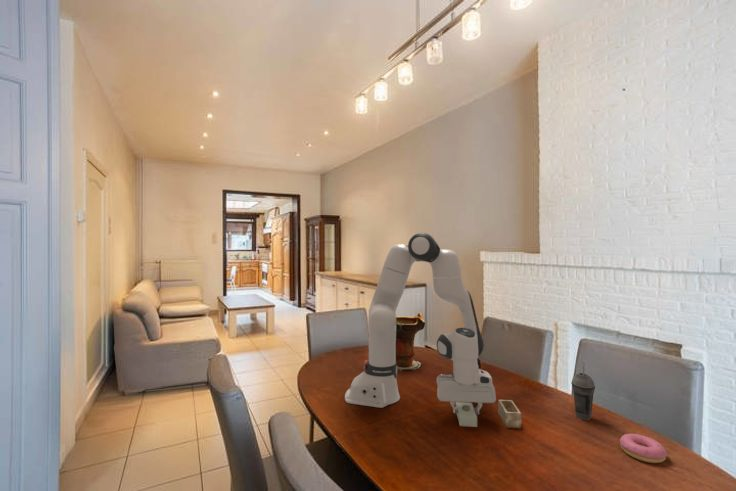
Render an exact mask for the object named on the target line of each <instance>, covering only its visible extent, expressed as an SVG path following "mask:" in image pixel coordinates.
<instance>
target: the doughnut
mask: <svg viewBox="0 0 736 491" xmlns="http://www.w3.org/2000/svg"><path fill="white" fill-rule="evenodd" d="M619 444H620V447H621V449H622V450H623V451H624V452H625V453H626V454H627V455H629V456H630V457H632V458H634V459H636V460H638V461H641V462H645V463H648V464H650V463H651V464H660V463H663V462H665V460H666V459H667V456H668V452H667V450H666V449H665V447H664V446H663V445H662V444H661V443H660V442H659V441H657V440H656V439H653V438H652V437H649V436H647V435H642V434H638V433H625V434H623V435H622V436H620V440H619Z"/></svg>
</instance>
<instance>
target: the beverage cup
mask: <svg viewBox="0 0 736 491" xmlns="http://www.w3.org/2000/svg"><path fill="white" fill-rule="evenodd" d="M585 364H586V363H585V362H582V372H581V373H579V372H578V373H576V374H575V375H574V376H572V379H571V388H572V392H573V402H574V403H573V404H574V410H575V416H576V418H578V419H580V420H582V421H591V420H590V419H592V413H593V402H594V401H593V400H594V393H595V390H596V386H595V382H594V380H593V378H592V377H591V376H590V375H589V374H586V373H585Z"/></svg>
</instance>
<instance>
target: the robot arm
mask: <svg viewBox="0 0 736 491" xmlns="http://www.w3.org/2000/svg"><path fill="white" fill-rule="evenodd" d="M415 262H426V263H428V264H429V265H430V266H431V271H432V285H433V290H434V292H435V295H437V296H438V297H439V298H440V299H441V300H443V301H446V302H449V303H452V304H453V305H456V307H458V309H459V310H460V313H461V318H462V323H463V327H458V328H455V329H454V330H453V331H452V332H447V333H442V334H440V335H439V336H438V338H437V341H436V350H437V353H438V354H439V355H440V356H441V357H442V358H443V359H445V360H449V361H452V363H453V364H452V373H451V374H450V373H447V374H446V373H441V374H439V375H438V376H437V377H436V385H437V390H436V396H437V399H438V400H439V401H440V402H449V403H450V405H451V407H452V412H453V414H455V415H457V414H458V408H457V407H456V402H462V403H477V406H475V407H473V408H474V410H475V413H476V415H477V416H478V415H480V410H481V409H482V407H483V404H495V403H496V401H497V394H496V389H495V386H494V384H493V378H492V376H491V374H490V373H489V372H488V371H486V370H483V369H482V368H480V369H478V363H477V359H479V357H480V355H481V354H482V353H483V351H484V348H485V342H484V339H483V338H484V337H483V336H482V333H481V331H480V327H479V322H478V319H477V315H476V310H475V305H474V302H473V301H474V300H473V297H472V295H471V293H470V292H469V291H468V290H466V288H465V286H464V282H463V279H462V269H461V263H460V259H459V255H458V254H457V253H456V252H455V251H454V250H452V249H444V248H443V249H442V248H440V246H439V243H438V241H437V239H436V238H435V237H434V236H433V235H430V234H429V233H426V232H418V233H415V234H414V235H413V236H411V238H409V241H408V244H402V243H398V244H397V243H396V244H393V245H392V246H391V248H390V249H389V252H387V255H386V258H385V260H384V263H383V266H382V268H381V272H380V275H379V279H378V282H377V285H376V288H375V290H374V293H373V297H372V299H371V303H370V305H369V309H368V317H367V318H368V322H367V324H368V359H366V360H364V362H363V371H362V372H361V373H360V374H358V375H357V376H355V377H354V378H353V380H352V382H351V385H350V387H349V388H348V389H347V390H346V392H345V394H344V401H345V403H347V404H352V405H359V406H365V407H366V406H367V407H374V408H380V409H382V408H384V407H387V406H388V405H393V404H394V403H397V402H398V401H400V399H401V396H400V393H399V389H398V388H399V387H398V382H397V376H398V370H397V363H396V316H397V314H396V313H397V308H398V305H399V303H400V300H401V298H402V297H403V294H404V291H405V288H406V285H407V282H408V279H409V276H410V272H411V268H412V266H413V264H414V263H415Z"/></svg>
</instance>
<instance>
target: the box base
mask: <svg viewBox="0 0 736 491" xmlns="http://www.w3.org/2000/svg"><path fill="white" fill-rule="evenodd" d="M497 406H498V408H497V413H498V415H499V418H500V419H501V421H502V423H503V425H504V426H505V428H508V429H509V428H510V429H521V428H522V412H521V411H520V409H519V408H518V407H517V405H516V404H515V402H514V401H513V399H497Z"/></svg>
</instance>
